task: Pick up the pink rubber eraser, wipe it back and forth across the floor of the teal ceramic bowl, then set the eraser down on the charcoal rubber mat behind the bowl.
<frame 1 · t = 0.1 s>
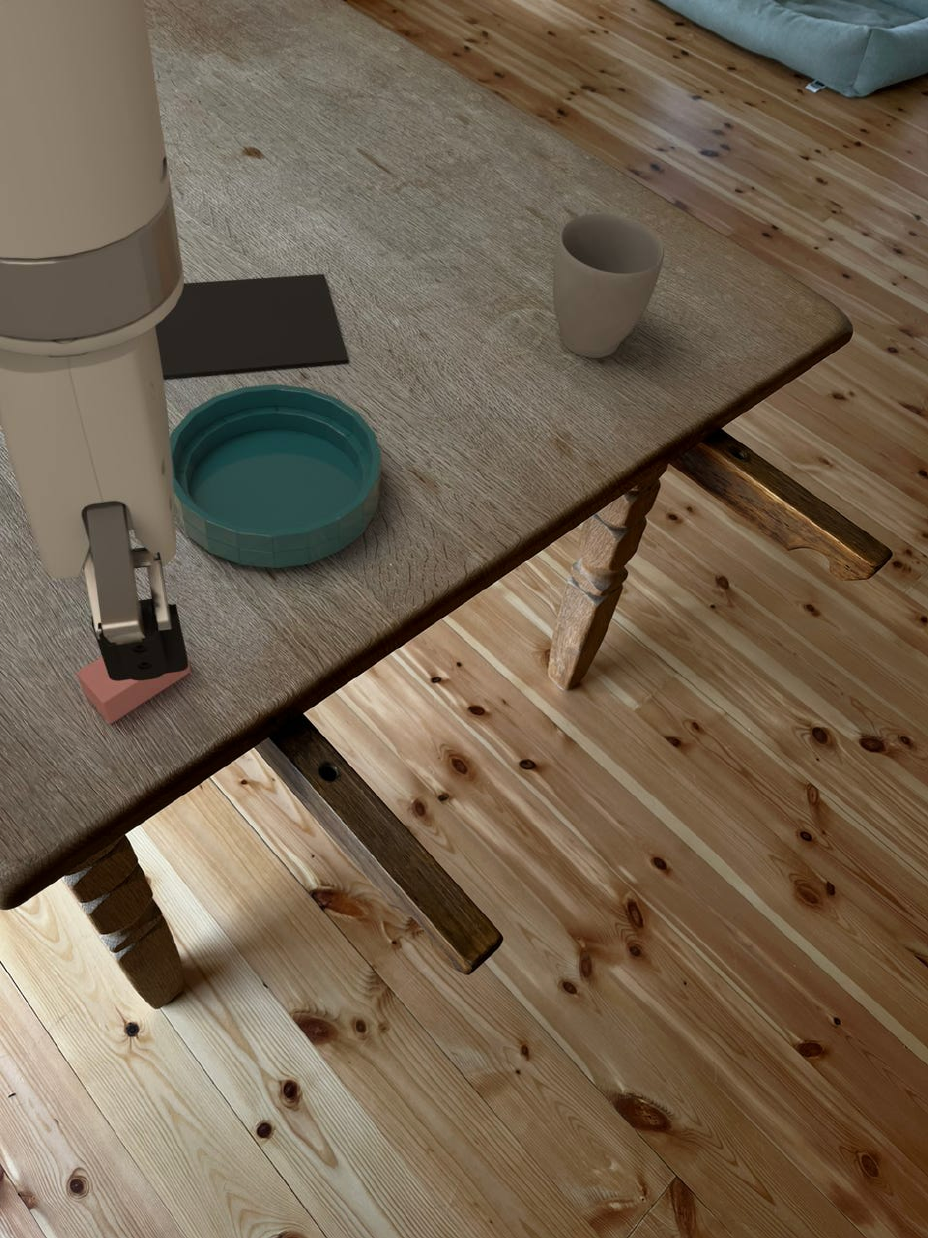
hand: (141, 581, 45), 19 cm above the table, tool pointing down, fingers open, 9 cm apart
eraser: (138, 682, 65), on the table
bowl: (277, 493, 75), on the table
mat: (243, 325, 87), on the table
mug: (584, 329, 91), on the table
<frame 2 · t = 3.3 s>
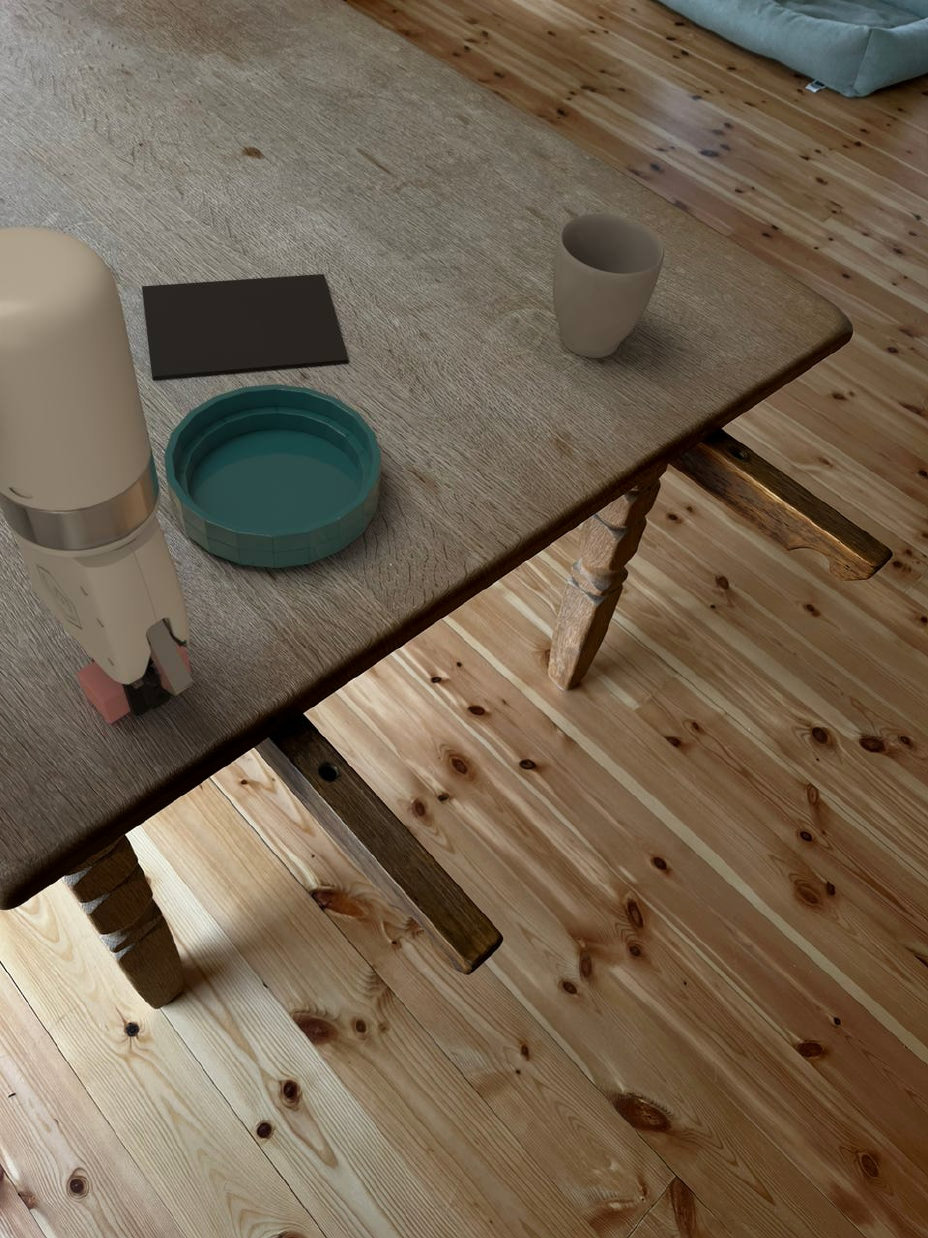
hand: (137, 681, 64), 0 cm above the table, tool pointing down, fingers closed on eraser, 3 cm apart
eraser: (138, 682, 65), on the table, touching gripper
everything else where it was.
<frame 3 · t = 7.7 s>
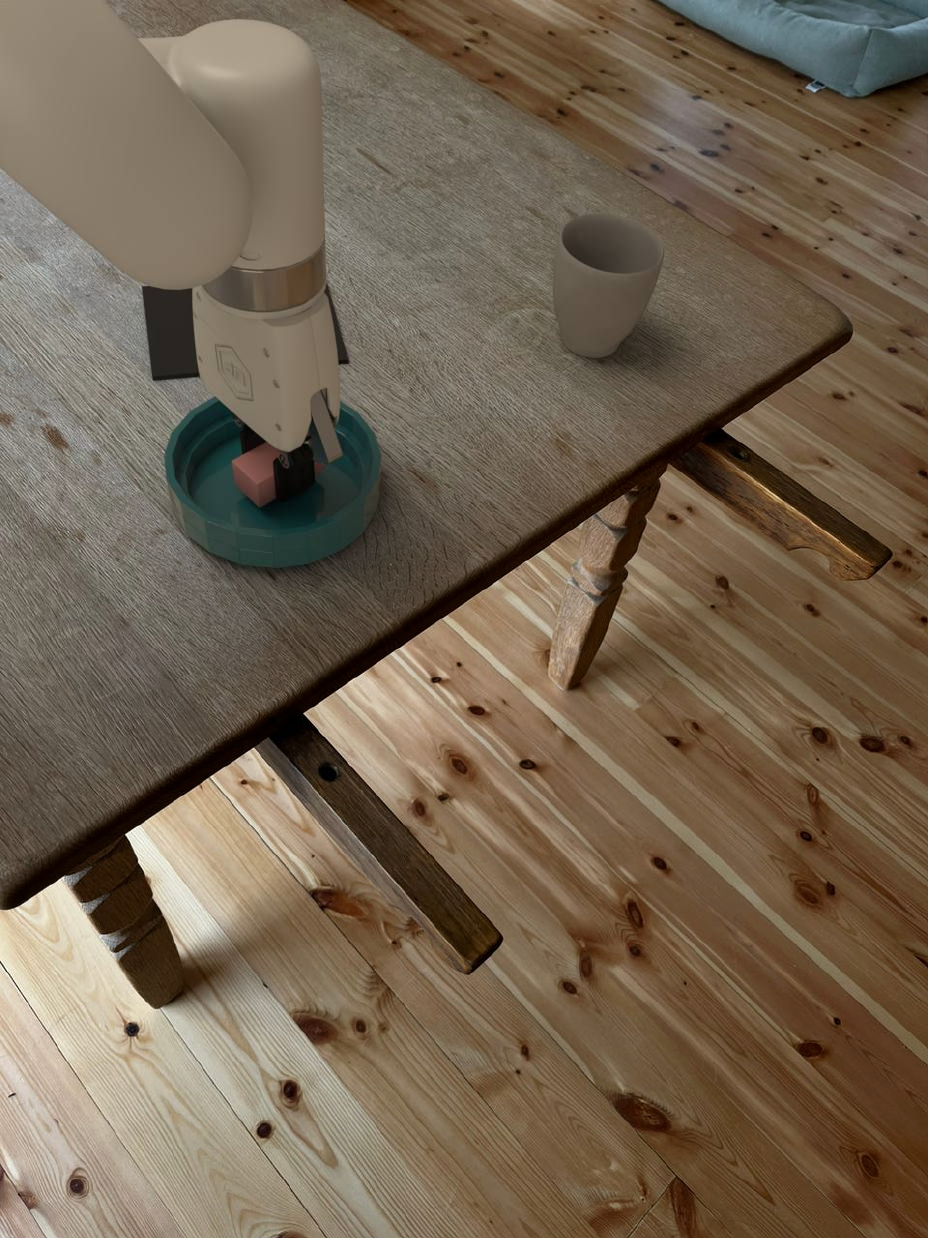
hand: (279, 476, 74), 2 cm above the table, tool pointing down, fingers closed on eraser, 3 cm apart
eraser: (279, 477, 74), point 2 cm above the table, touching gripper
everything else where it was.
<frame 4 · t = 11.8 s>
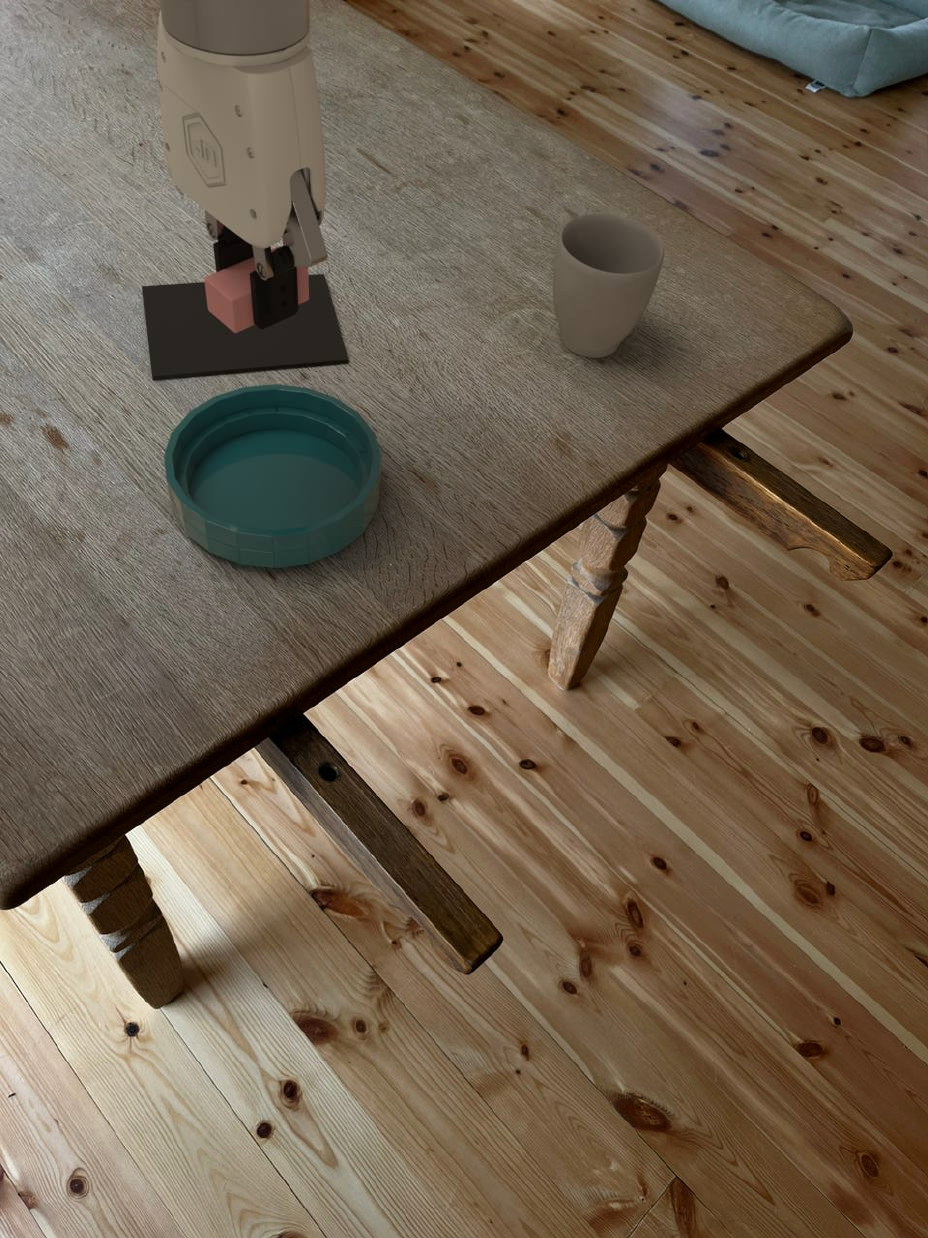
hand: (258, 302, 66), 14 cm above the table, tool pointing down, fingers closed on eraser, 3 cm apart
eraser: (259, 305, 66), point 14 cm above the table, touching gripper
everything else where it was.
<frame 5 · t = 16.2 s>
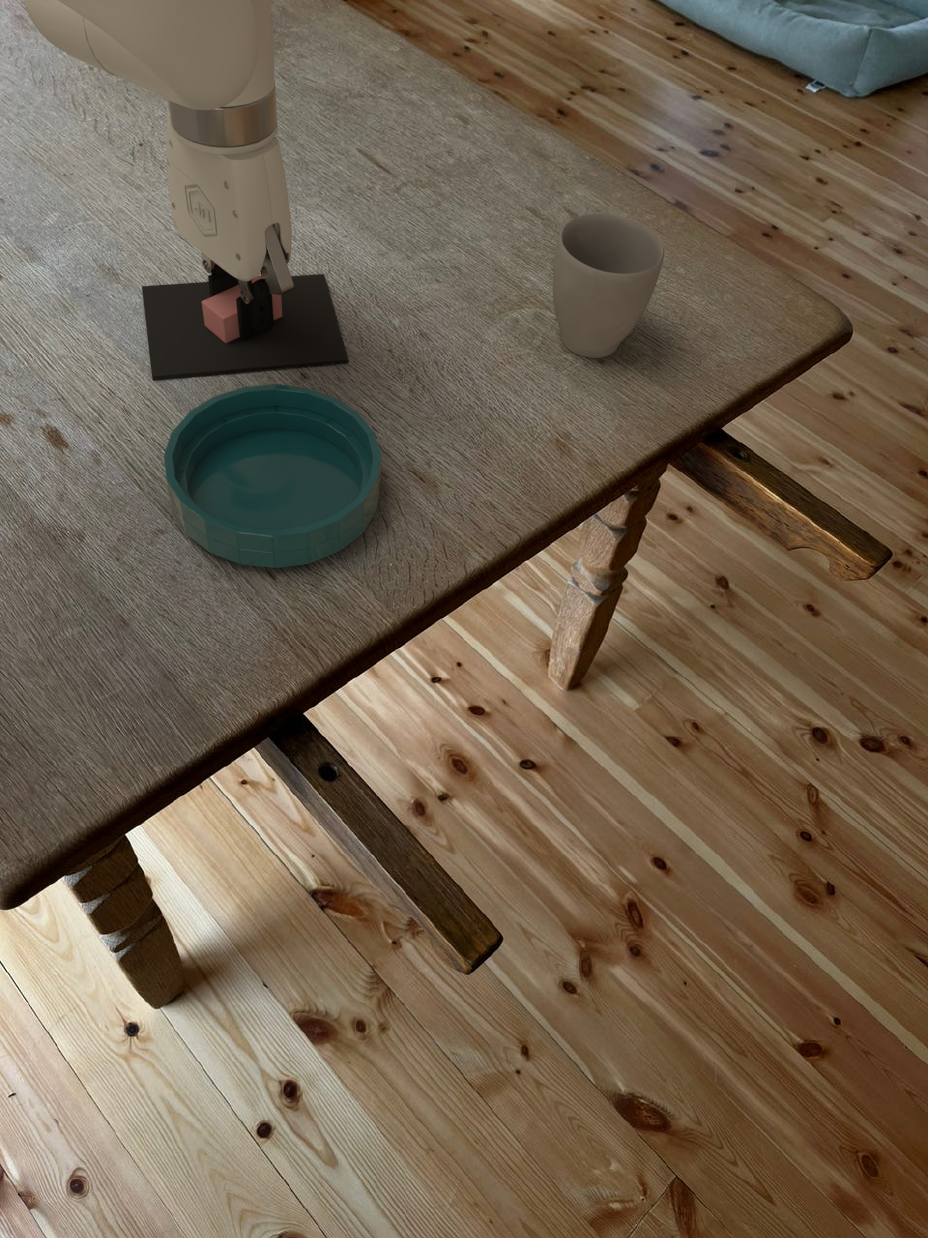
hand: (243, 319, 86), 1 cm above the table, tool pointing down, fingers closed on eraser, 3 cm apart
eraser: (243, 321, 86), resting on mat, touching gripper
everything else where it was.
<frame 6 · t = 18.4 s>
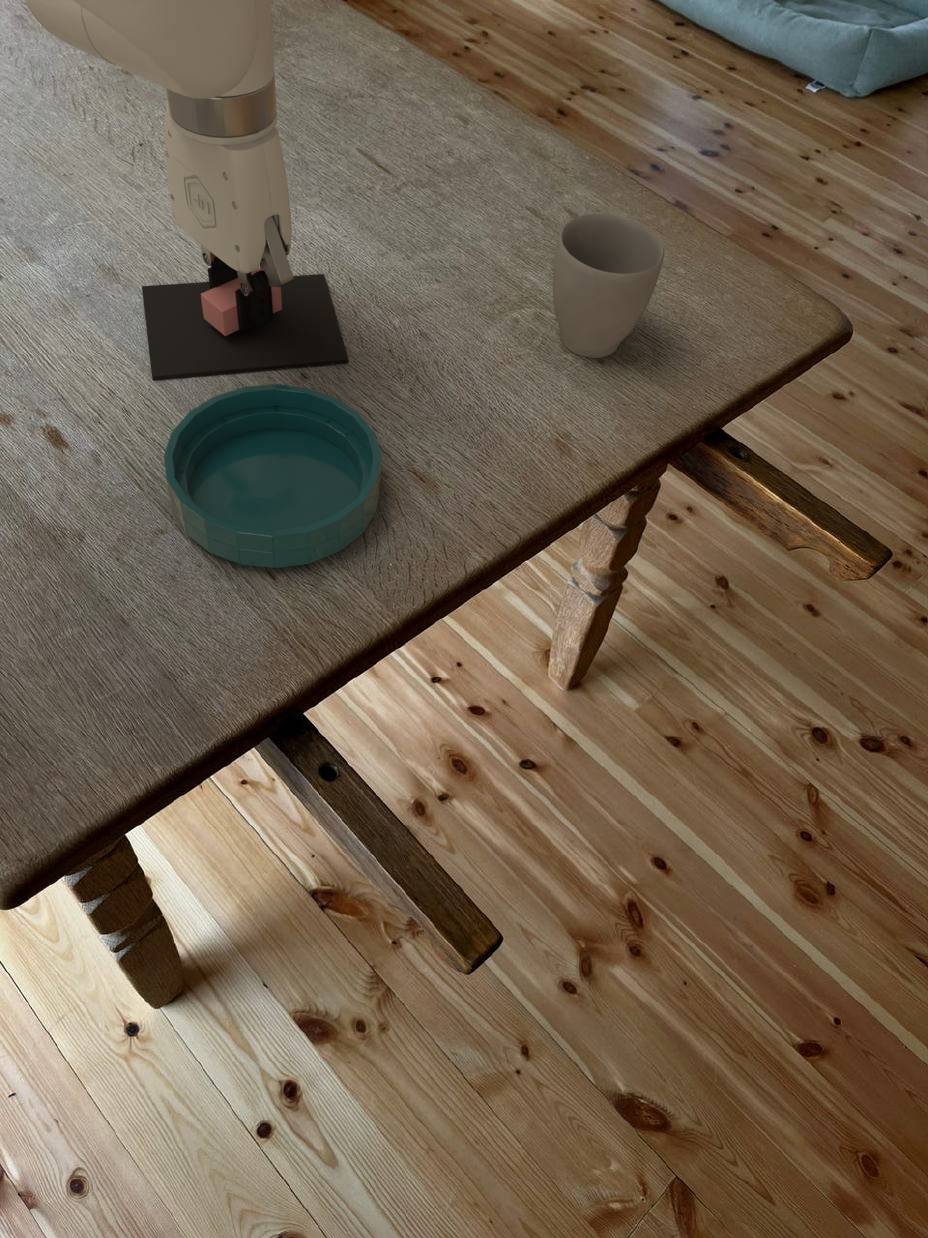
hand: (242, 312, 86), 1 cm above the table, tool pointing down, fingers closed on eraser, 3 cm apart
eraser: (243, 313, 86), point 1 cm above the table, touching gripper
everything else where it was.
when the fingers open (2 cm above the table, at t = 20.6 s): eraser drops 1 cm, resting on mat.
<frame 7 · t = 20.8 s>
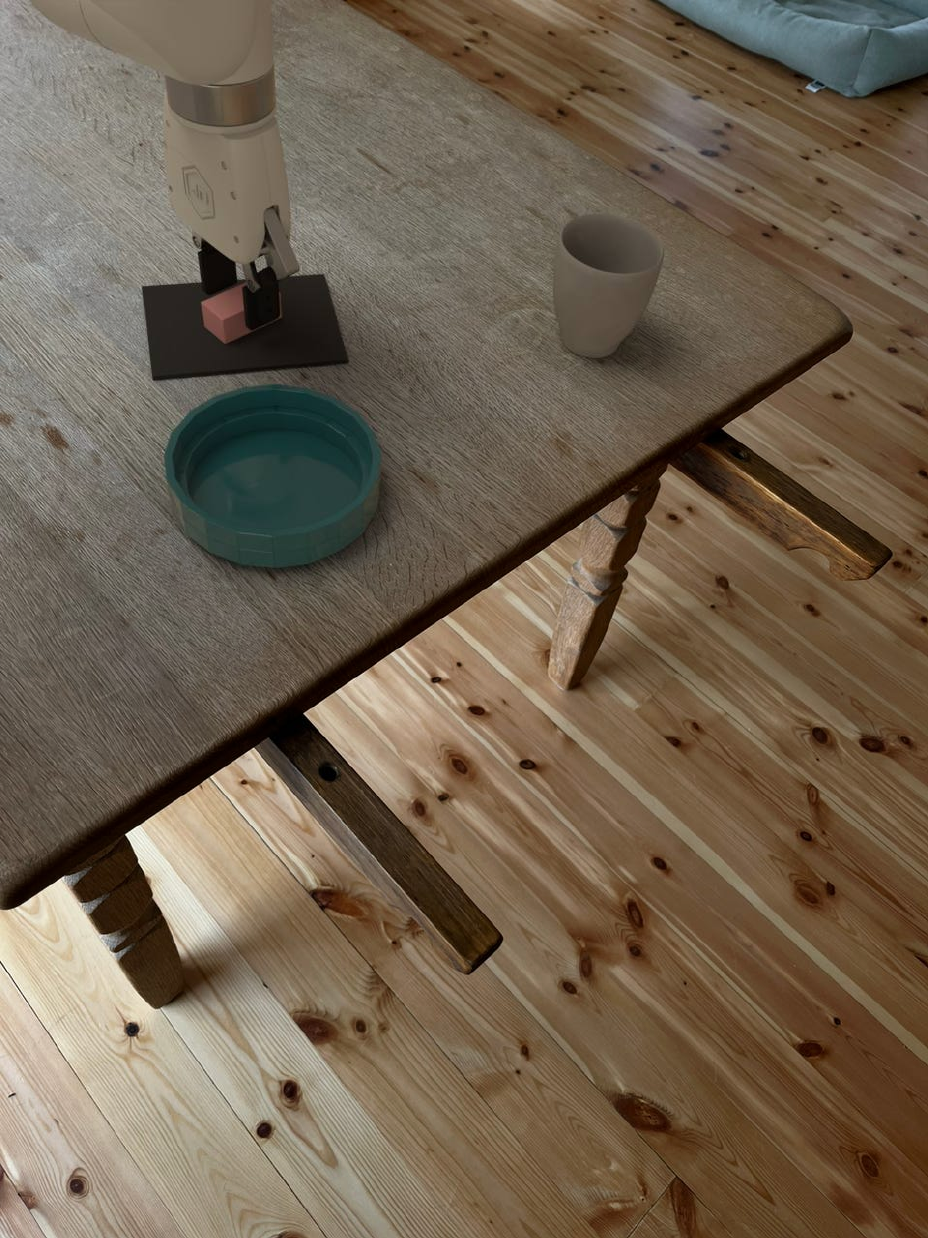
hand: (241, 303, 85), 2 cm above the table, tool pointing down, fingers open, 5 cm apart
eraser: (243, 322, 86), resting on mat
everything else where it was.
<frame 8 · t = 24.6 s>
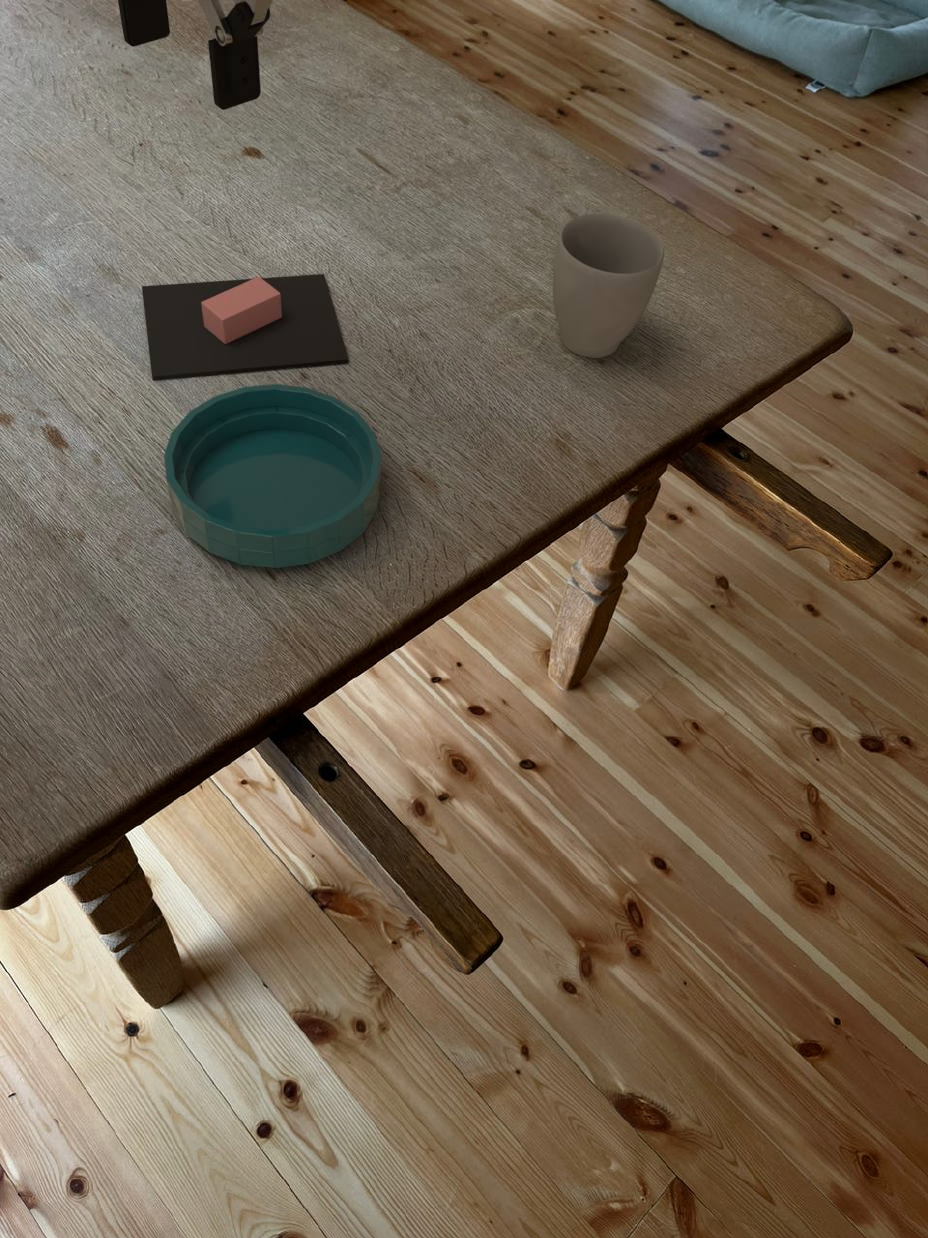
hand: (191, 70, 65), 23 cm above the table, tool pointing down, fingers open, 9 cm apart
nothing on the table moved.
at the end: eraser inside the target area on the mat (0.0 cm from its centre), point 0.4 cm above the mat's base; eraser tilted 0°; the gripper is holding nothing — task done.
